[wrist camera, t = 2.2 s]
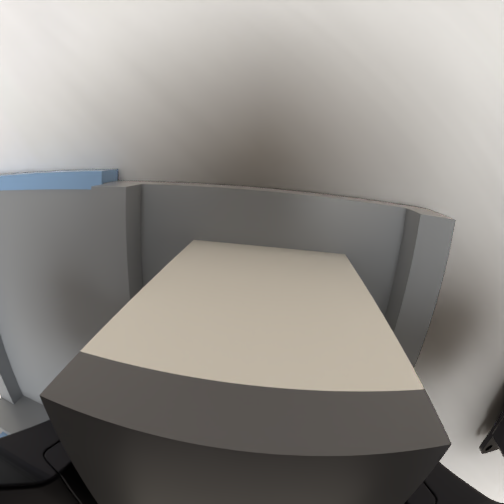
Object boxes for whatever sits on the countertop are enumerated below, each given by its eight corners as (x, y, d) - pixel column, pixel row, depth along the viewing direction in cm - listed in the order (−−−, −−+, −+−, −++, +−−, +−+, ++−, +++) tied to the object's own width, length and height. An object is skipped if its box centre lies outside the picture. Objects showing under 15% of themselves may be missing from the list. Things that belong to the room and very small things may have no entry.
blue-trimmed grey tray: (427, 197, 9) (548, 240, 4) (346, 462, 13) (357, 553, 7) (-22, 176, 10) (-111, 198, 5) (24, 393, 14) (-24, 447, 9)
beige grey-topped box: (344, 254, 9) (451, 444, 2) (308, 418, 11) (314, 580, 4) (193, 239, 9) (39, 394, 3) (195, 406, 11) (142, 559, 5)
